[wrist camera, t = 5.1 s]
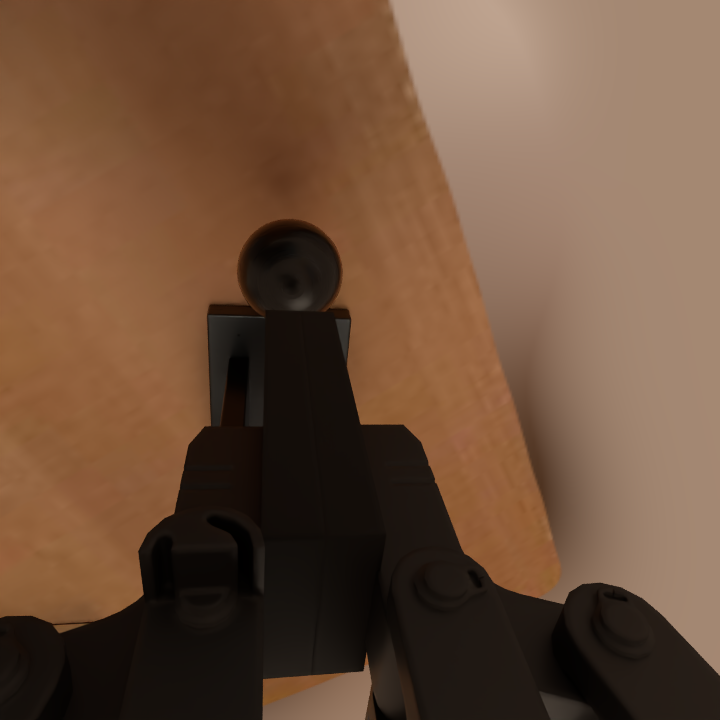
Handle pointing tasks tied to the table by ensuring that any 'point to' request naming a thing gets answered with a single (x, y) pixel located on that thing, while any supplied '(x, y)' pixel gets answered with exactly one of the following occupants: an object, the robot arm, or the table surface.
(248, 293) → the press lever
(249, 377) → the lever bracket
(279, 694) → the table surface
